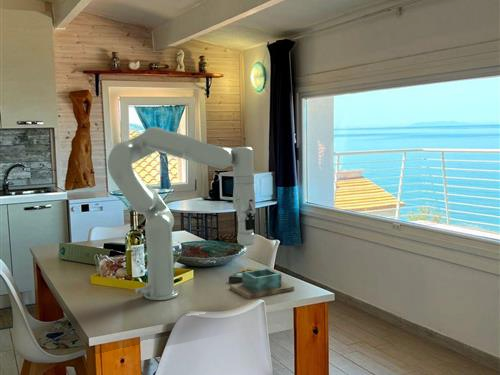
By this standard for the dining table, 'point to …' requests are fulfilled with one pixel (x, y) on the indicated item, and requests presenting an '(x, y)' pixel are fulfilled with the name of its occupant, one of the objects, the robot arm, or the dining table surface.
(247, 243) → the plastic bottle
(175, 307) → the dining table surface
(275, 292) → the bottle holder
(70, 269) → the dining table surface
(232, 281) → the electronic device
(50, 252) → the dining table surface
